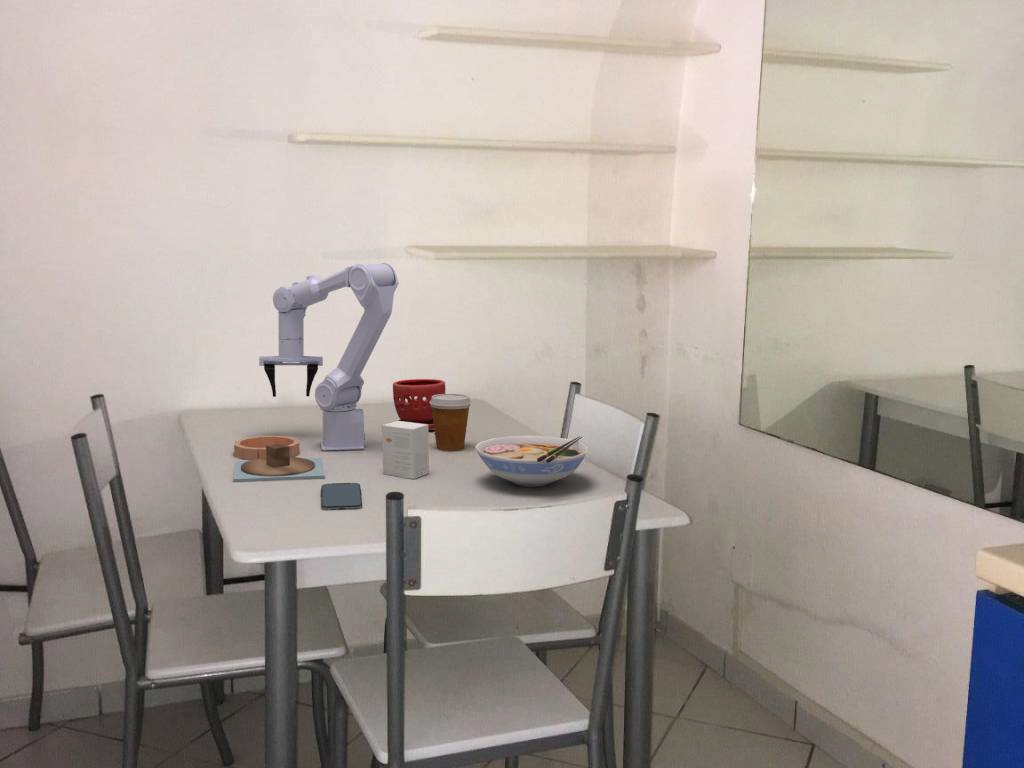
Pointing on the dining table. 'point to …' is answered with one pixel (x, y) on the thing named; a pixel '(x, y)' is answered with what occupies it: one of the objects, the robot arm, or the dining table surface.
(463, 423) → the disposable coffee cup
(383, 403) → the dining table surface
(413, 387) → the plant pot
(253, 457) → the dish
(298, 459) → the lid
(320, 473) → the mat
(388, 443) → the small box
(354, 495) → the smartphone
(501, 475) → the ramen bowl
